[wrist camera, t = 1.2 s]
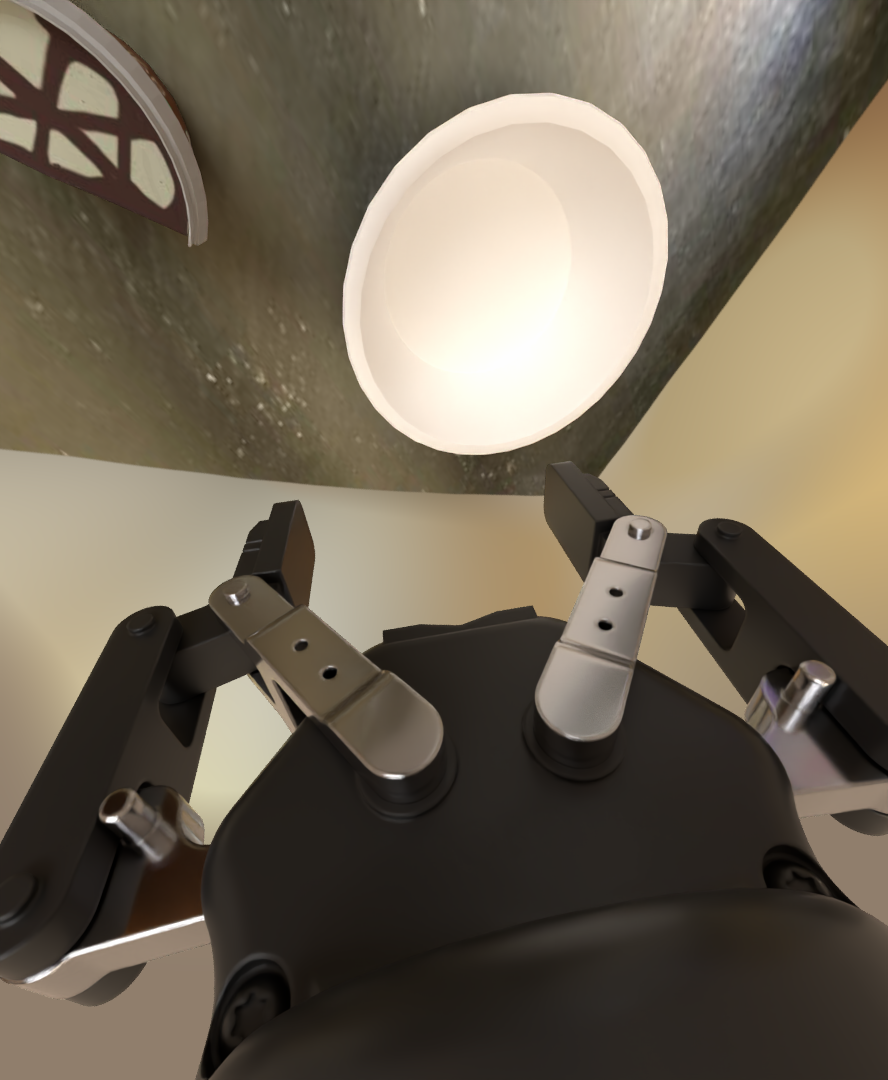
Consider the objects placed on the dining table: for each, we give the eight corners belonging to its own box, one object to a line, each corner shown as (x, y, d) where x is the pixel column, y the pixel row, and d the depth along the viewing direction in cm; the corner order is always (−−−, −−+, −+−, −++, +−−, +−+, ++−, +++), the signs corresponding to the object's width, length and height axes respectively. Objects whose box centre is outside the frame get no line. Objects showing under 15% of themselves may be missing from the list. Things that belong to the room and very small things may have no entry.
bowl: (538, 416, 48) (570, 466, 42) (321, 386, 40) (326, 442, 34) (669, 147, 32) (745, 172, 27) (356, 10, 24) (375, 5, 19)
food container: (241, 83, 25) (225, 103, 19) (221, 202, 29) (202, 252, 23) (-67, -113, 19) (-246, -182, 13) (-44, 69, 23) (-173, 86, 16)
